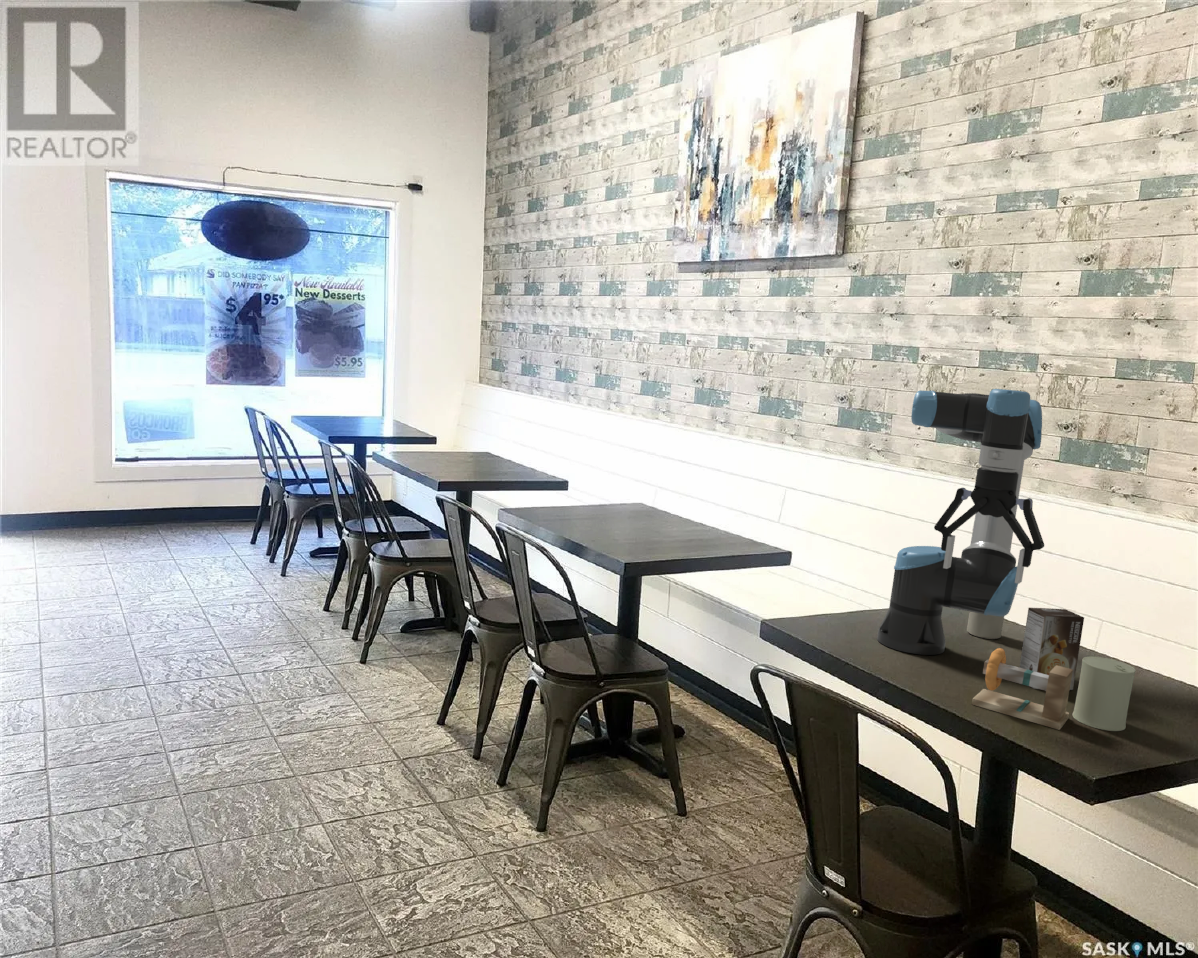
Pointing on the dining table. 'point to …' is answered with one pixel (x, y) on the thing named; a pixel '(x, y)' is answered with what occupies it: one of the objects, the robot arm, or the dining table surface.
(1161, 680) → the dining table surface
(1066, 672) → the pipe stand
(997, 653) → the ring
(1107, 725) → the can
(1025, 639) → the coffee box
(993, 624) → the travel mug
